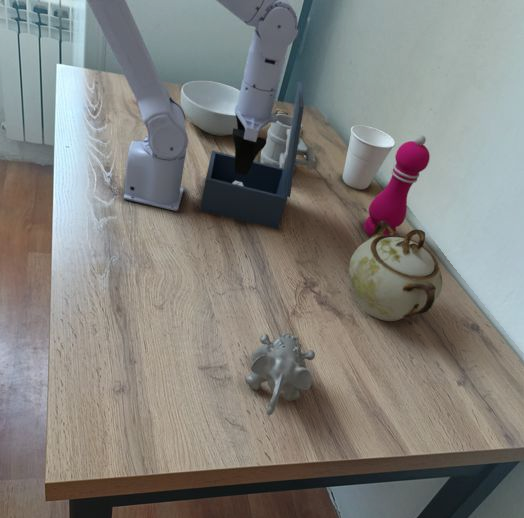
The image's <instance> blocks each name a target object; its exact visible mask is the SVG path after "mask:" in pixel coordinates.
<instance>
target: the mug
mask: <svg viewBox="0 0 524 518" xmlns="http://www.w3.org/2000/svg"><path fill="white" fill-rule="evenodd" d="M275 115H277V122H276V123H272V122H270V127H269V128H268V129H267V132H266V133H267V134H266V135H267V137H266V145H265V146H264V148H263V149H261V151H260V163H264V164H268V165H272V166H276V167H280V168H284V169H286V162H287V155H288V148H289V141H290V133H291V126H292V119H293V115H289V114H288V115H284V114H276V113H275ZM303 126H304V125H303V123H302V122H301V129H300V135H299V142H298V145H299V143H300V140H301V139H302V138H300V137H301V135H302V130H303Z"/></svg>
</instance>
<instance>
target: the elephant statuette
mask: <svg viewBox="0 0 524 518" xmlns="http://www.w3.org/2000/svg"><path fill="white" fill-rule="evenodd" d="M299 340H300V339H299V337H298V336H294V335H293V334H292V333H291V332H290V333H286V332H283V333H282V334H281V336H277V337H276V339H275V340H270V336H269V334H268V333H265V334H262V335H260V337H259V342H260V343H261V346H258V347H257V348H256V349H254V351H252V353H251V357H250V358H251V362H252V364H251V367H250V371H251V372H252V374H249V375H247V376H246V378H245V382H246V384H247V385H248V386H249V387H250V388H251V389H253V390H259V389H260V388H261V385H262V384H264V383H265V382H267V387H269V390H271V391H272V396H271V398H270V401H269V403H268V405H267V408H266V411H265V412H266V415H267V416H272V415H273V414H274V411H275V409H276V407H277V403H278V401H279V396H280V395H281V393H282V392H283V391H284V392H283V399H284V400H285V401H287V402H289V401H290V402H291V401H297V400H298V399H300V397H301V394H300V391H299V390H302V391H303V390H306V391H308V390H309V389H310V388H311V386H312V383H313V377H312V373H311V372H310V370H309V369H308V368H307V363H306V360H308V361H313V360H314V359H315V358H316V352H315V351H314V350H313V349H308V350H307V351H306V352H304V353H303V352H302V348H301V347H302V344H301V343H300V341H299Z"/></svg>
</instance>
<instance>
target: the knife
mask: <svg viewBox="0 0 524 518" xmlns="http://www.w3.org/2000/svg"><path fill="white" fill-rule="evenodd" d="M274 114H275V115H276V114H284V115H288V116H289V112H287V110H285V109H283V108H275V111H274ZM300 138H301V136H300ZM307 149H308V146H307V145H306V143H305V142H304V140H303V139H302V138H301V140H300V143H299V145H298V150H307ZM302 156H303V157H304V160H306V156H305V155H302Z"/></svg>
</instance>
